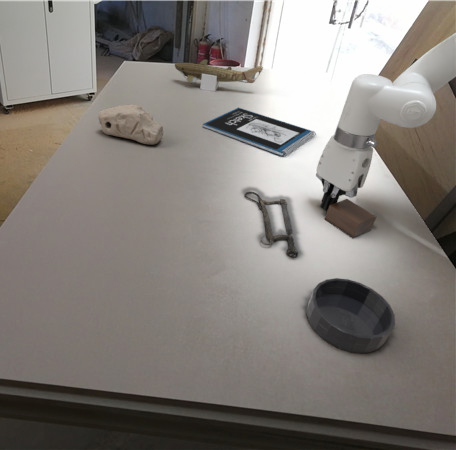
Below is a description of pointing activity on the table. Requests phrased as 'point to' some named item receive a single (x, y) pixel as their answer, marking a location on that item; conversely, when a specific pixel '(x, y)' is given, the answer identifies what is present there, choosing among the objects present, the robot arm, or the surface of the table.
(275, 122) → the sketchbook
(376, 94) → the robot arm
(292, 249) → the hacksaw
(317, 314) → the pan
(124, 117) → the decorative stone
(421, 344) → the table surface
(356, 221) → the block
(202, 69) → the wood carving
